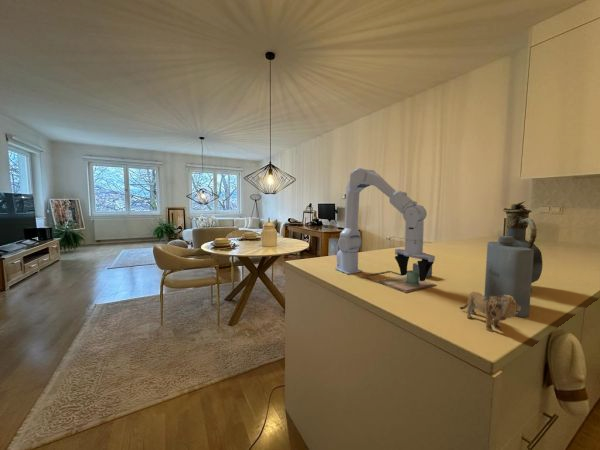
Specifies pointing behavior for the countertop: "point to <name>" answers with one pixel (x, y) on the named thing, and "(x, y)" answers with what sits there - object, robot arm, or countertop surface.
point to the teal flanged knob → (412, 278)
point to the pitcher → (524, 234)
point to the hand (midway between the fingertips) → (412, 277)
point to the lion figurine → (492, 308)
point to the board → (400, 283)
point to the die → (416, 267)
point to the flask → (509, 272)
